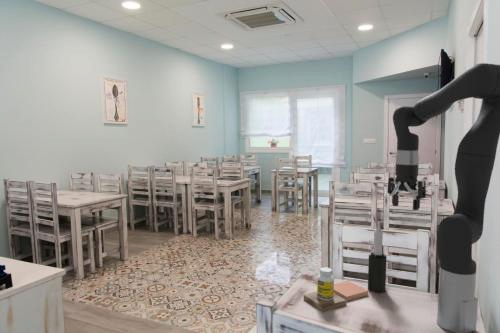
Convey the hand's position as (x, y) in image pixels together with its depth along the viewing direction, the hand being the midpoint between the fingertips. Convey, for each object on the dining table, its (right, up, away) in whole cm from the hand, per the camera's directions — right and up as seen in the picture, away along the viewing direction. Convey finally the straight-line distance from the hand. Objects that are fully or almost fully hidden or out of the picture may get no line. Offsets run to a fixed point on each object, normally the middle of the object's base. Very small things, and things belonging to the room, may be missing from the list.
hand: (405, 207), depth 130 cm
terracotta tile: (-21, -30, -1) cm, 37 cm away
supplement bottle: (-30, -30, -8) cm, 43 cm away
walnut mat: (-31, -31, -8) cm, 44 cm away
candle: (-10, -30, +2) cm, 32 cm away
